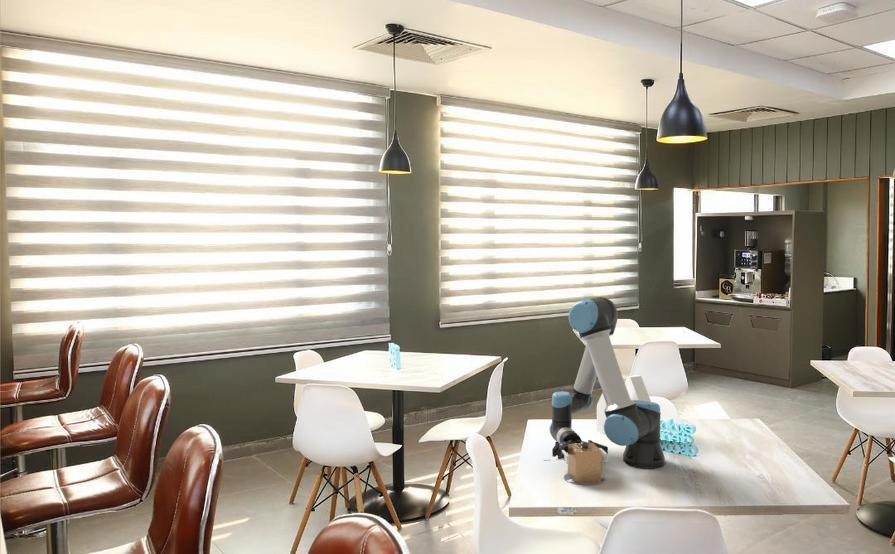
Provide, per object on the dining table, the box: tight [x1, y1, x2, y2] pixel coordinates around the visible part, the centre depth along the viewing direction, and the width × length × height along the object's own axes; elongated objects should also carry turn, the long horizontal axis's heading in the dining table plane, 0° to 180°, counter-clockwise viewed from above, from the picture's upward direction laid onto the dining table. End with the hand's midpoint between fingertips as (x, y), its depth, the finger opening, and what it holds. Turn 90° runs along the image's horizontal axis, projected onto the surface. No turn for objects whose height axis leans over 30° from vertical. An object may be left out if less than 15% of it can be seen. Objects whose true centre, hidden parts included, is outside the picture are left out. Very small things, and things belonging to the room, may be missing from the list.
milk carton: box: [596, 374, 652, 436], centre depth 289 cm, size 19×15×25 cm
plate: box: [563, 472, 606, 487], centre depth 236 cm, size 14×14×1 cm
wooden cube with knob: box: [567, 441, 602, 483], centre depth 236 cm, size 9×9×13 cm
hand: (587, 458), depth 232 cm, fingers open, 13 cm apart
